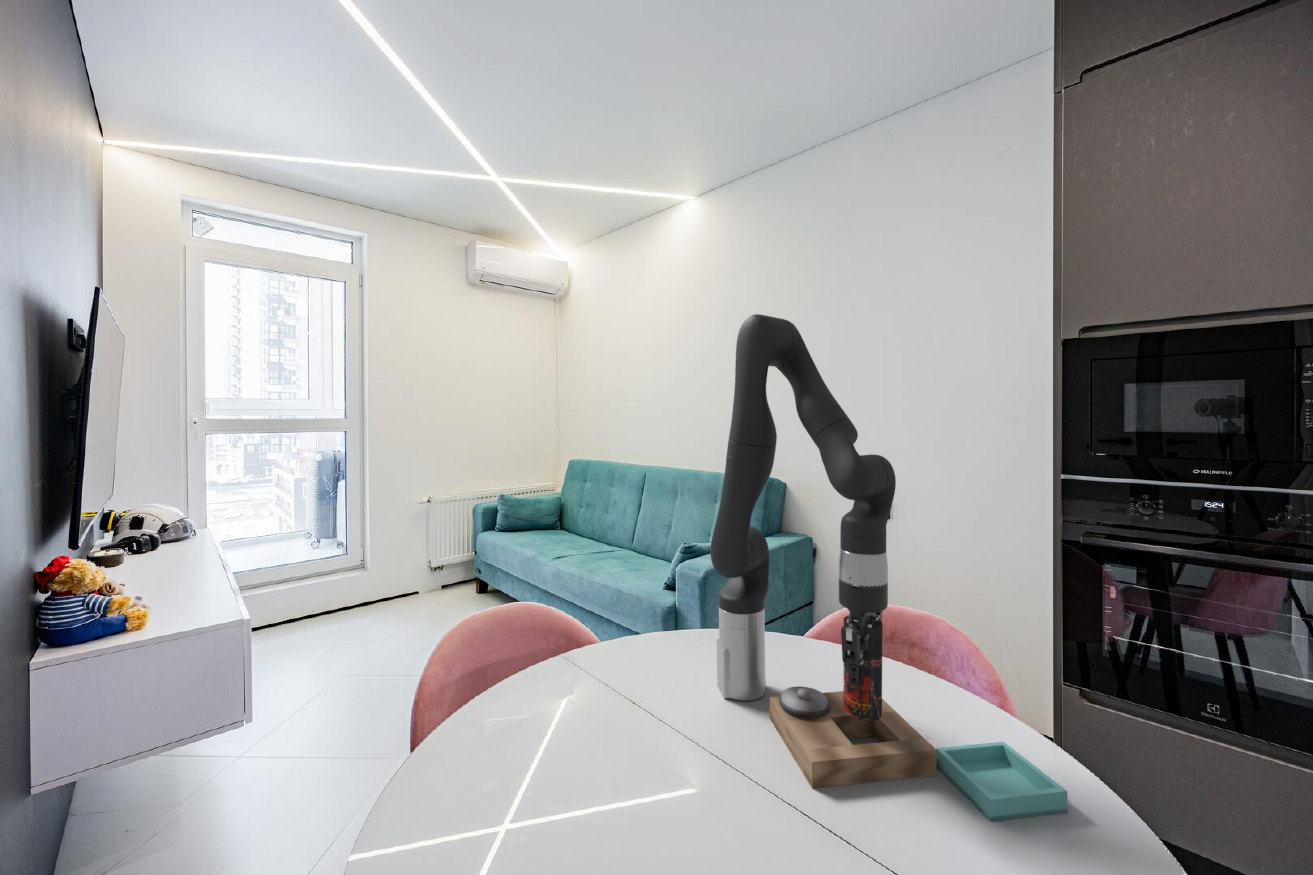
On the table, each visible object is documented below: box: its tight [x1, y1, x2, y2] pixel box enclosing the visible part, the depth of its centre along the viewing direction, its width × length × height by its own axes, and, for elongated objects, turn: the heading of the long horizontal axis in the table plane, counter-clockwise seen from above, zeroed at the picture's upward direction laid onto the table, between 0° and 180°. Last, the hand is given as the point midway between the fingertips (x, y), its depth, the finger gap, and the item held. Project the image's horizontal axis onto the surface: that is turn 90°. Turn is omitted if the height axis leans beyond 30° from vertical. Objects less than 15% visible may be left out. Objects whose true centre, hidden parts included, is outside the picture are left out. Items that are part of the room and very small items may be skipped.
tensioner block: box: [769, 686, 937, 789], centre depth 91 cm, size 20×19×7 cm
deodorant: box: [842, 615, 883, 721], centre depth 88 cm, size 6×6×15 cm
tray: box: [935, 741, 1068, 822], centre depth 79 cm, size 12×12×3 cm
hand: (862, 677), depth 88 cm, fingers closed on deodorant, 6 cm apart
